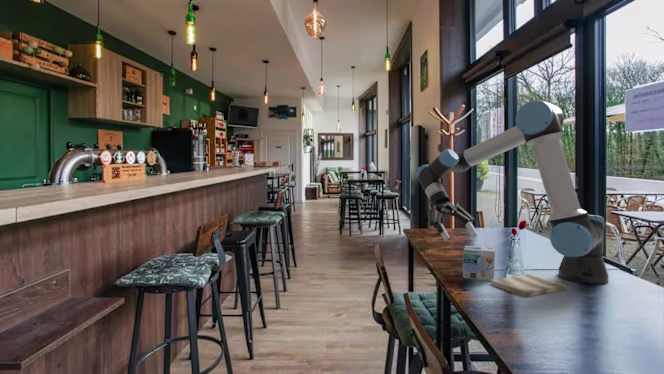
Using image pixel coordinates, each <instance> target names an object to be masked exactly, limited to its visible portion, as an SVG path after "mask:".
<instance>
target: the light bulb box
mask: <svg viewBox="0 0 664 374" xmlns="http://www.w3.org/2000/svg"><path fill="white" fill-rule="evenodd" d="M495 249H496V248H495V247H486V246H475V245H474V246H472V245H464V247H463V258H462V278H463V279H469V280H477V281H478V280H479V281H488V282H491V280H493V279H495V268H496V267H495V264H496V250H495Z"/></svg>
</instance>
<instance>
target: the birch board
mask: <svg viewBox="0 0 664 374" xmlns="http://www.w3.org/2000/svg"><path fill="white" fill-rule="evenodd" d="M522 275H523V276H521V275H514V276H508V277H501V278H494V279H493V280H491V281H490V285H492V286H494V287H497V288H501V289H503V290H506V291H508V292H511V293H514V294H515V295H519V296H521V297H524V298H528V297H533V296H538V295H539V296H540V295H543V294H544V295H545V294H551V293H554V292H562V291H566V290H567V287H566V286H567V285H566V284H563V283H560V282H556V281H554V280H549V279H547V278H543V277H540V276H537V275H533V274H530V273H527V274H522ZM517 276H518V277H517ZM519 276H520V277H519Z"/></svg>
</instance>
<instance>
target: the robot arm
mask: <svg viewBox="0 0 664 374" xmlns="http://www.w3.org/2000/svg"><path fill="white" fill-rule="evenodd" d="M515 115H516V116H515V120H514V121H515V126H512V127H511V128H508V129H506V130H504V131H502V132H500V133H498V134H496V135H494V136H492V137H490V138H488V139H486V140H484V141H481V142H480V143H477V144H476V145H473V146H471V147H470V148H467V149H465V150H463V151H461V152H459V153H457V152H455V151H454V150H452V149H450V148H446V149H444V150H443V151H442V152H440V153H439V154H438V155H437V157H436V158H435V159H434V160H433V161H432V162H431V163H430V164H422V165H421V166H418V168H416V171H415V175H416V178H417V181H418V182H419V184H420V185H421V187H422V189H423V191H424V194H425V195H426V196H427V198H428V200H429V202H430V205H429V206H428V207H427V208H428V212H429V213H428V214H429V226H430V227H433V229H436V230H437V233H439V234H440V235H441V237H442V240H443V241H444V242H447V241H448V240H449V239H450V235H449V233H448V231H447V230H446V228H445V226H444V224H443V223H442V222H441V221H442V217H443V216H451V217H454V218H456V219H458V220H459V221H460V222H462V223H463V224H465V229H467V231H468V233H469V235H470V237H471V238H472V239H473V240H474V239H476V238H477V236H479V234H478V232H477V231H476V227H475V225H474V224H473V222H474V220H475V217H473V216H472V215H471V214H470V213H469V212H468V211H466V210H465V209H464V208H463V207H462V206H460V204H459V202H455V203H452V202H451V199H450V196H449V195H448V192H446V190H445V188H444V186H443V184H442V183H441V181H440V180H441V179H442V178H443V177H444V176H446V174H447V173H464V172H466V171H468V170H469V169H471V168H472V167H474V166H476V165H478V164H480V163H483V162H485V161H487V160H489V159H492V158H494V157H496V156H498V155H501V154H503V153H505V152H508V151H510V150H512V149H514V148H516V147H519V146H522V145H523V144H526V145H527V146H530V147H531V148H532V153H533V154H534V158H535V162H536V164H537V167H538V171H539V175H540V178H541V181H542V185H543V188H544V191H545V194H546V195H545V196H546V198H547V201H548V205H549V208H550V212H551V215H550V216H549V217H548V222H549V225H550V229H551V231H550V235H549V241H550V244H551V245H552V248H553V249H554V250H555V251H556V252H557V253H558V254H561V255H562V256H563V257H562V259H561V262H560V264H559V267H558V270H557V271H558V272H557V273H558V276H559V277H560V278H562V279H564V280H568V281H572V282H577V283H583V284H589V285H590V284H594V285H597V284H598V285H599V284H600V285H601V284H606V283H608V282H609V274H608V273H609V272H608V270H607V268H606V263H605V260H604V240H605V239H604V236H605V218H604V217H603V216H601V215H595V214H594V215H593V214H589V213H588V211H587V210H585V209H583V208H582V207H581V204H580V201H579V198H578V195H577V192H576V189H575V185H574V182H573V179H572V176H571V172H570V170H569V166H568V164H567V160H566V157H565V153H564V150H563V146H562V144H561V140H560V139H561V137H562V136H563V134H564V132H563V130H562V127H563V125H564V122H565V115H564V113H563V111H562V109H561V108H560V107H558V106H557V105H555V104H552V103H550V102H547V101H546V100H540V99H537V100H536V99H535V100H530V101H528V102H526V103H524V104H523V105H522V106H520V107H519V109H518V110H517V112H516V114H515ZM436 211H437V214H436Z"/></svg>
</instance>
